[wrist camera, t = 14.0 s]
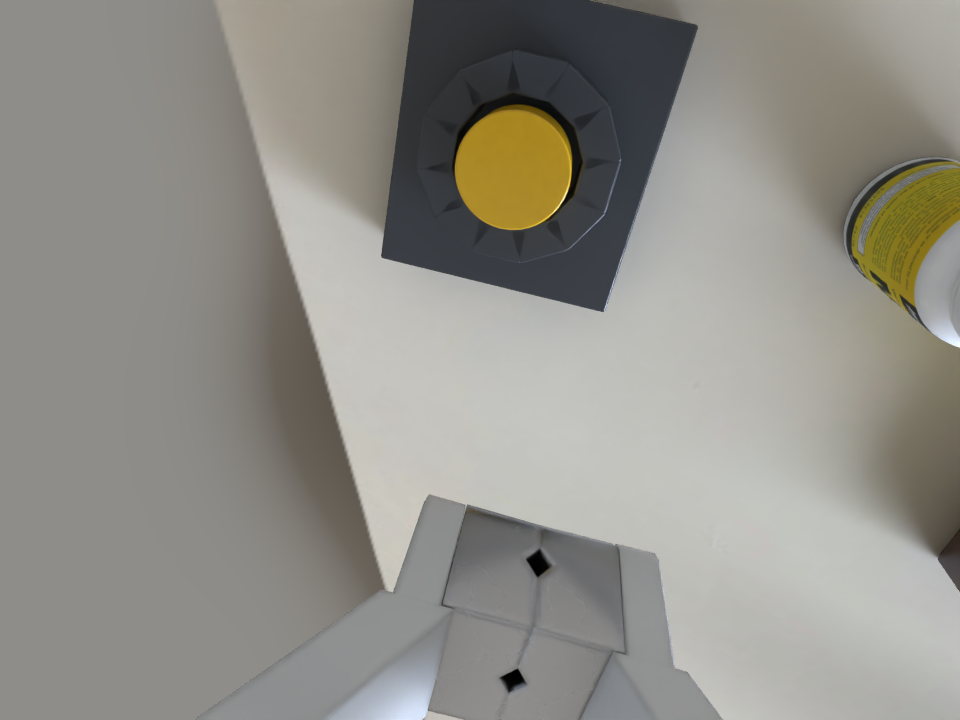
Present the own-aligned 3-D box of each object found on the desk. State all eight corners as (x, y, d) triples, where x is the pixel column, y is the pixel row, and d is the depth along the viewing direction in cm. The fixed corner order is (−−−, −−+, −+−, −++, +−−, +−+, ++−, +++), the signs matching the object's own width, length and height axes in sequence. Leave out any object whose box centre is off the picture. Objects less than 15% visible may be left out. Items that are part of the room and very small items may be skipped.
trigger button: (475, 92, 20) (466, 96, 18) (585, 118, 20) (585, 125, 18) (455, 202, 21) (445, 216, 20) (556, 227, 21) (554, 242, 20)
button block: (433, -32, 21) (403, -46, 18) (688, 26, 21) (709, 24, 18) (395, 242, 26) (366, 273, 23) (603, 292, 26) (606, 332, 22)
